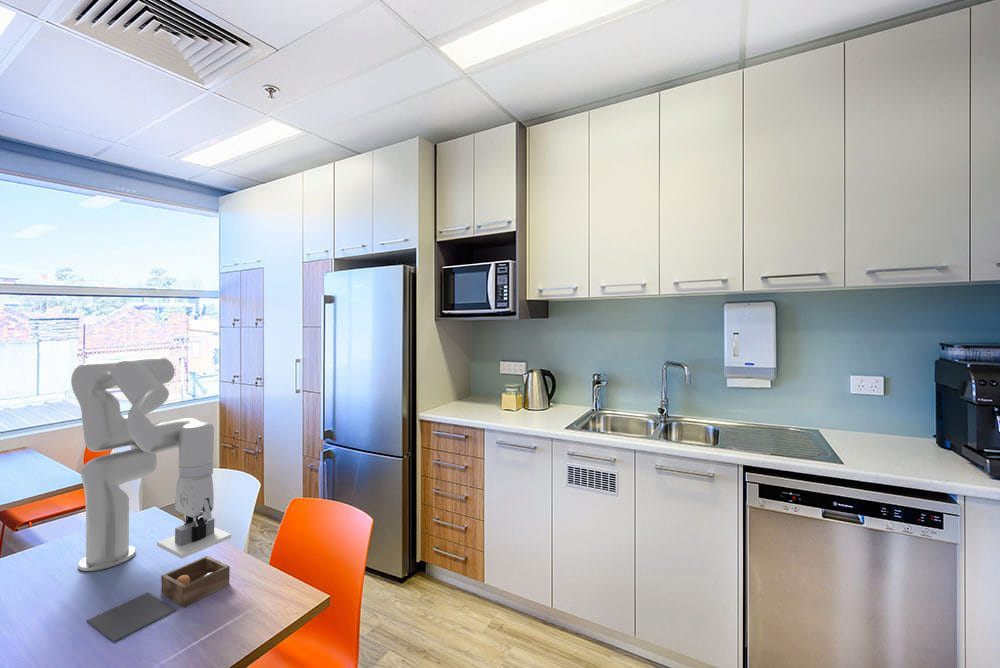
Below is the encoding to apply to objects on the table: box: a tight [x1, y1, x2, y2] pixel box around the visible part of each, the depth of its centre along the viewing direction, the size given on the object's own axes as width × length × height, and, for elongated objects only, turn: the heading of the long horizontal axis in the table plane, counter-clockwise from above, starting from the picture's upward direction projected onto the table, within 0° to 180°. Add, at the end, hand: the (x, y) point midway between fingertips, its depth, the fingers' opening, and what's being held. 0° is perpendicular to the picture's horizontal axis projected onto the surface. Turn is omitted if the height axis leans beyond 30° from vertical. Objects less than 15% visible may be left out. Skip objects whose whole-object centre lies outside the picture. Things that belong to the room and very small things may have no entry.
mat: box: [86, 592, 177, 643], centre depth 102 cm, size 14×12×1 cm
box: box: [160, 555, 231, 609], centre depth 112 cm, size 11×11×5 cm
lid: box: [156, 517, 232, 559], centre depth 112 cm, size 12×12×5 cm
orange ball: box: [177, 575, 190, 585], centre depth 112 cm, size 3×3×3 cm
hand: (195, 537), depth 112 cm, fingers closed on lid, 3 cm apart
